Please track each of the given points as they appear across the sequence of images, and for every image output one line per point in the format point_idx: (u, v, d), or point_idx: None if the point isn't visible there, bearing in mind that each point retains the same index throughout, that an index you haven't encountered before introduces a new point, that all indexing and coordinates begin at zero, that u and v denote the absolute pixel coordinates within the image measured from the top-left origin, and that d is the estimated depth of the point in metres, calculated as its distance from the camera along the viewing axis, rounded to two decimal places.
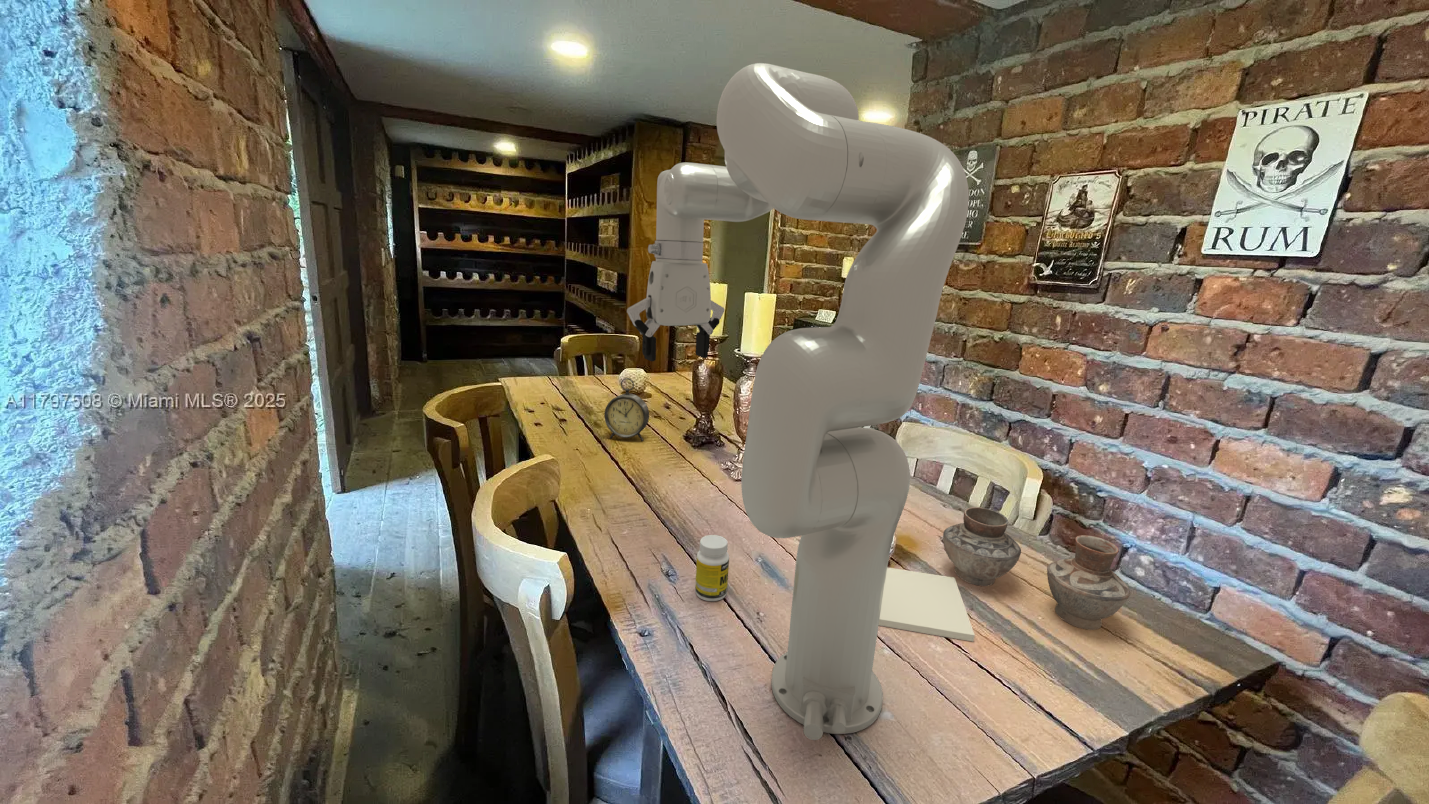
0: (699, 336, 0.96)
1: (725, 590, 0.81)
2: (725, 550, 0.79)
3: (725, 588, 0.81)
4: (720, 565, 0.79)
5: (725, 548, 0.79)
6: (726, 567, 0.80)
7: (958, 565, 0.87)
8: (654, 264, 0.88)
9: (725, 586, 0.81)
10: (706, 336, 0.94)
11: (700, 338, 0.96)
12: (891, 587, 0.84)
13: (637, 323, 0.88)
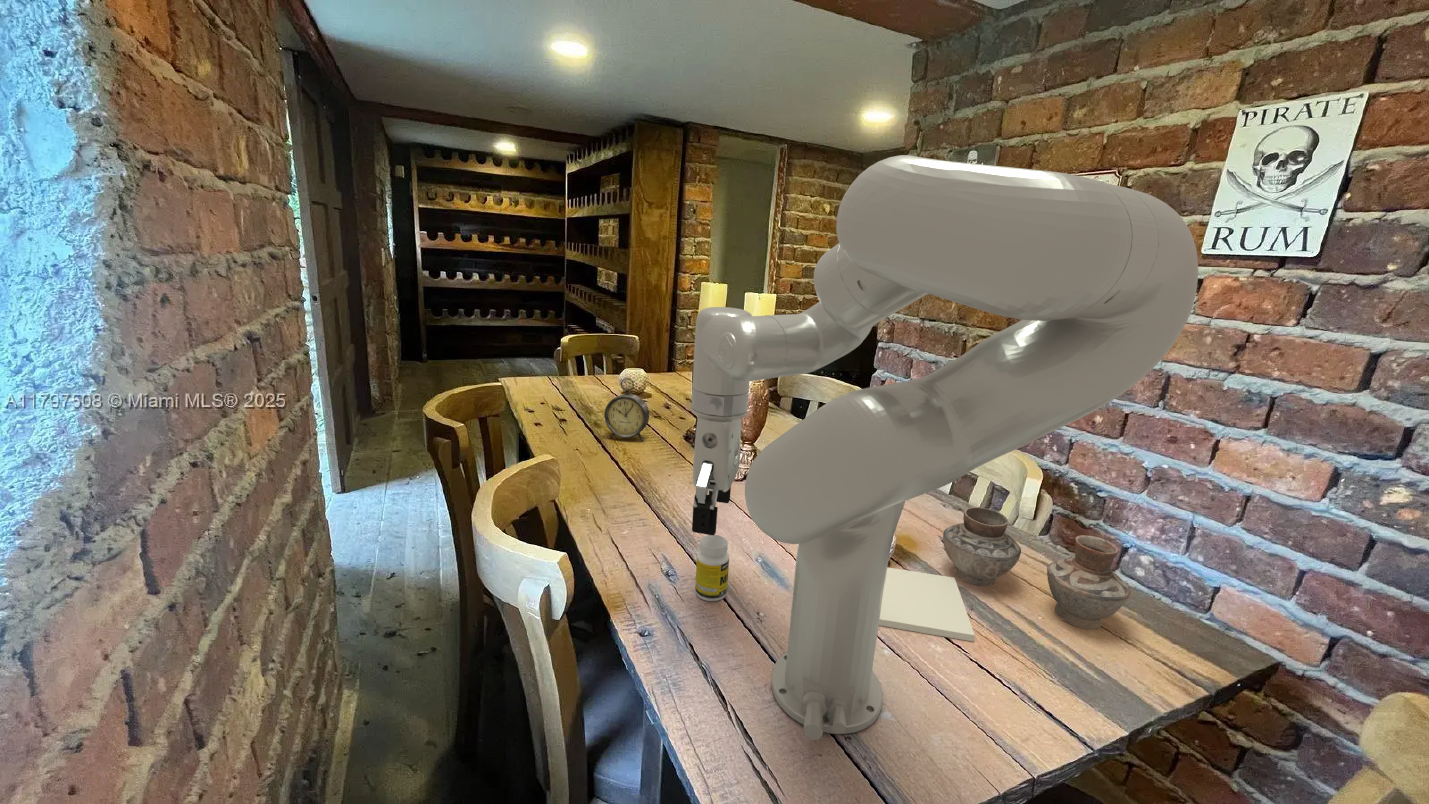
0: None
1: (725, 590, 0.81)
2: (725, 550, 0.79)
3: (725, 588, 0.81)
4: (720, 565, 0.79)
5: (725, 548, 0.79)
6: (726, 567, 0.80)
7: (958, 565, 0.87)
8: (714, 425, 0.71)
9: (725, 586, 0.81)
10: None
11: None
12: (891, 587, 0.84)
13: (708, 500, 0.71)
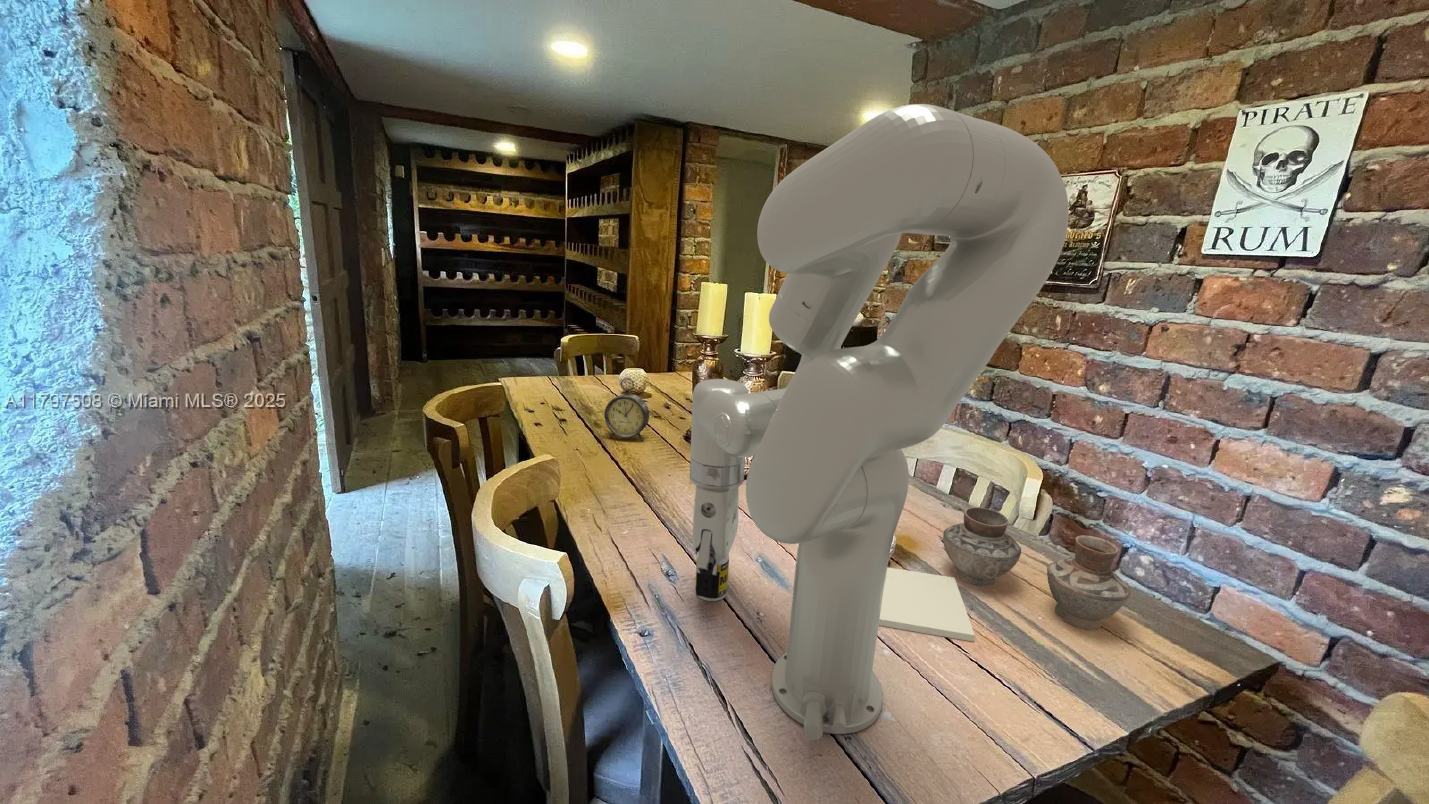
0: None
1: (725, 590, 0.81)
2: None
3: (725, 588, 0.81)
4: (720, 565, 0.79)
5: None
6: (726, 567, 0.80)
7: (958, 565, 0.87)
8: (712, 495, 0.73)
9: (725, 586, 0.81)
10: None
11: None
12: (891, 587, 0.84)
13: (711, 568, 0.75)
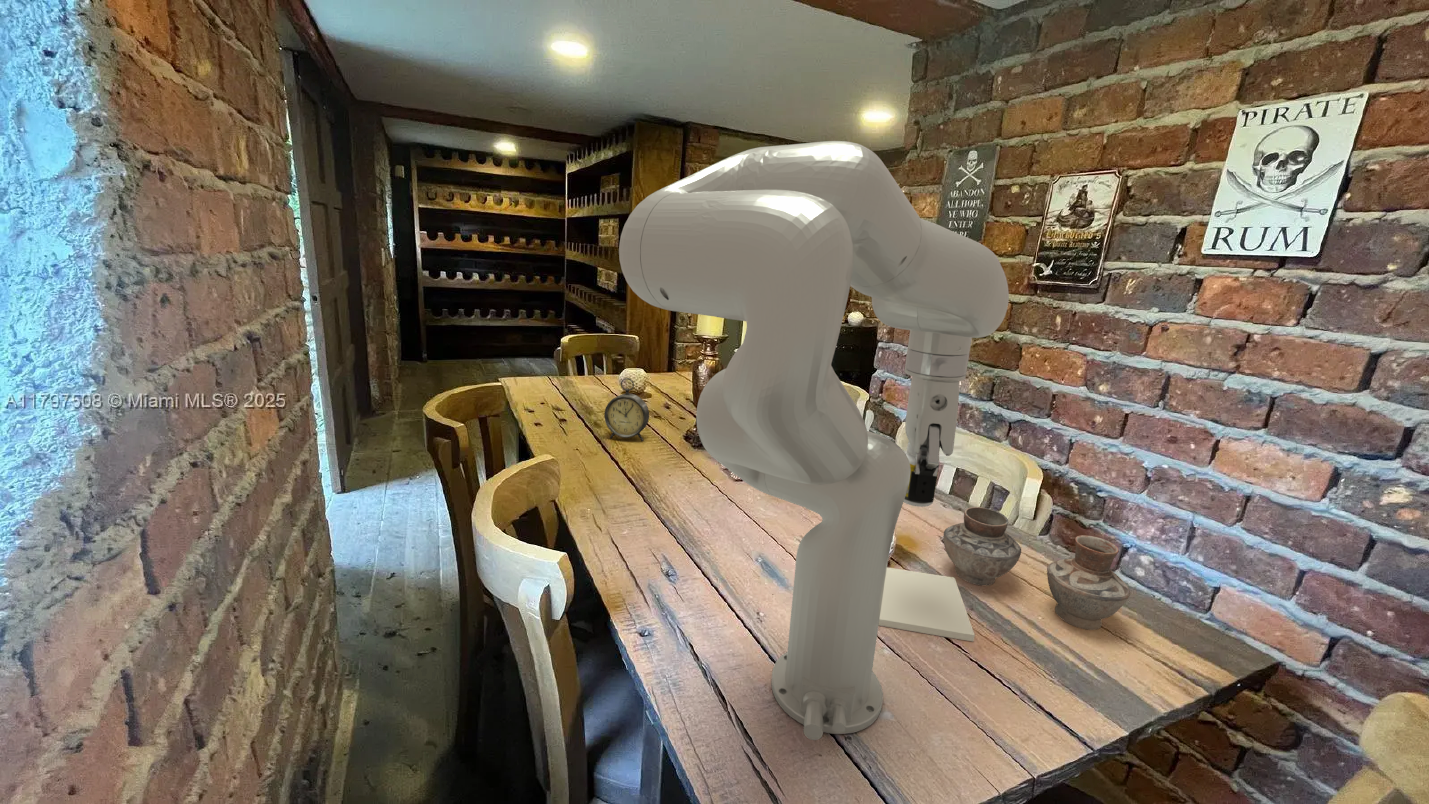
0: None
1: None
2: None
3: (934, 493, 0.77)
4: None
5: None
6: None
7: (958, 565, 0.87)
8: (944, 386, 0.69)
9: None
10: None
11: None
12: (891, 587, 0.84)
13: (937, 465, 0.71)
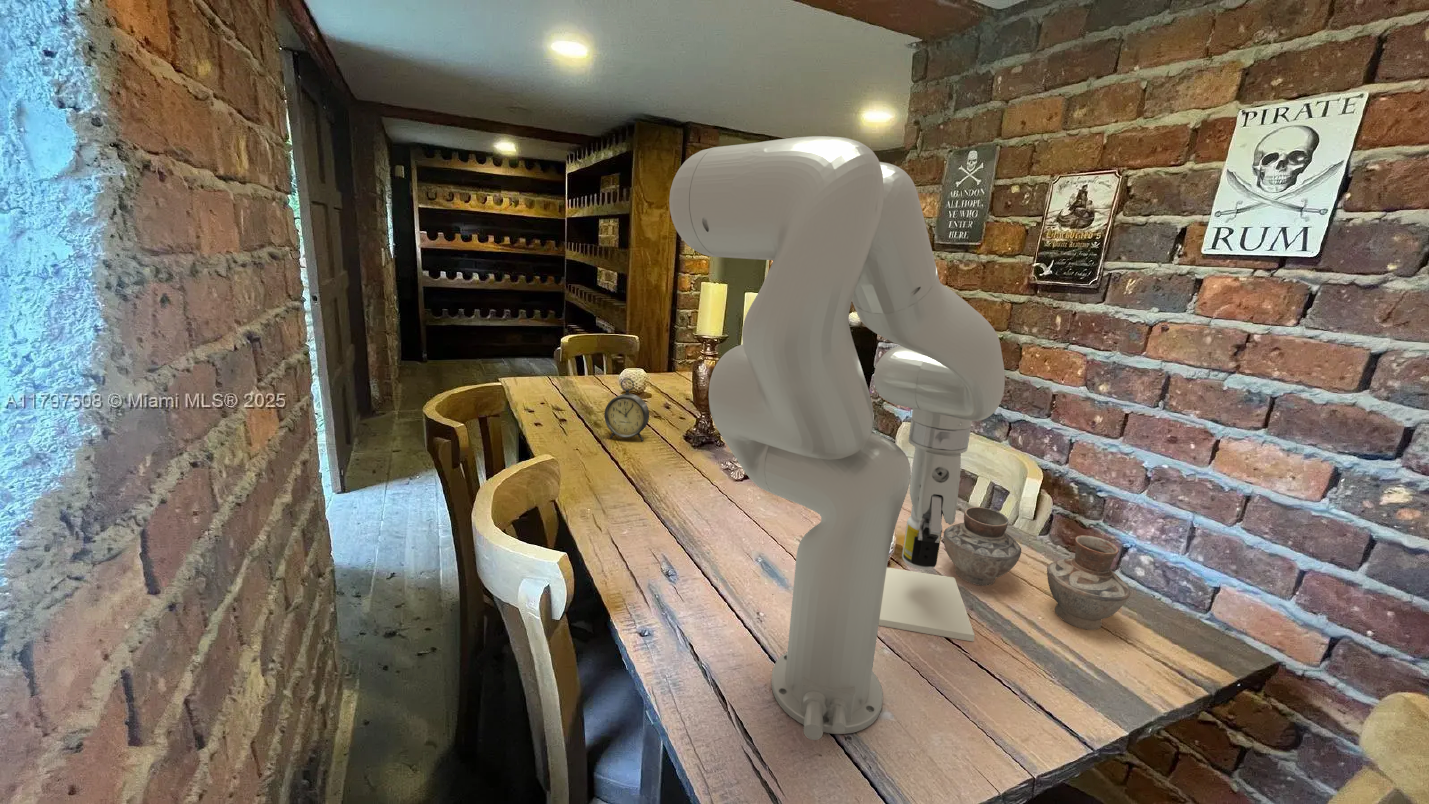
0: None
1: None
2: None
3: (937, 556, 0.79)
4: None
5: None
6: None
7: (958, 564, 0.87)
8: (946, 459, 0.72)
9: None
10: None
11: None
12: (891, 587, 0.84)
13: (939, 534, 0.73)
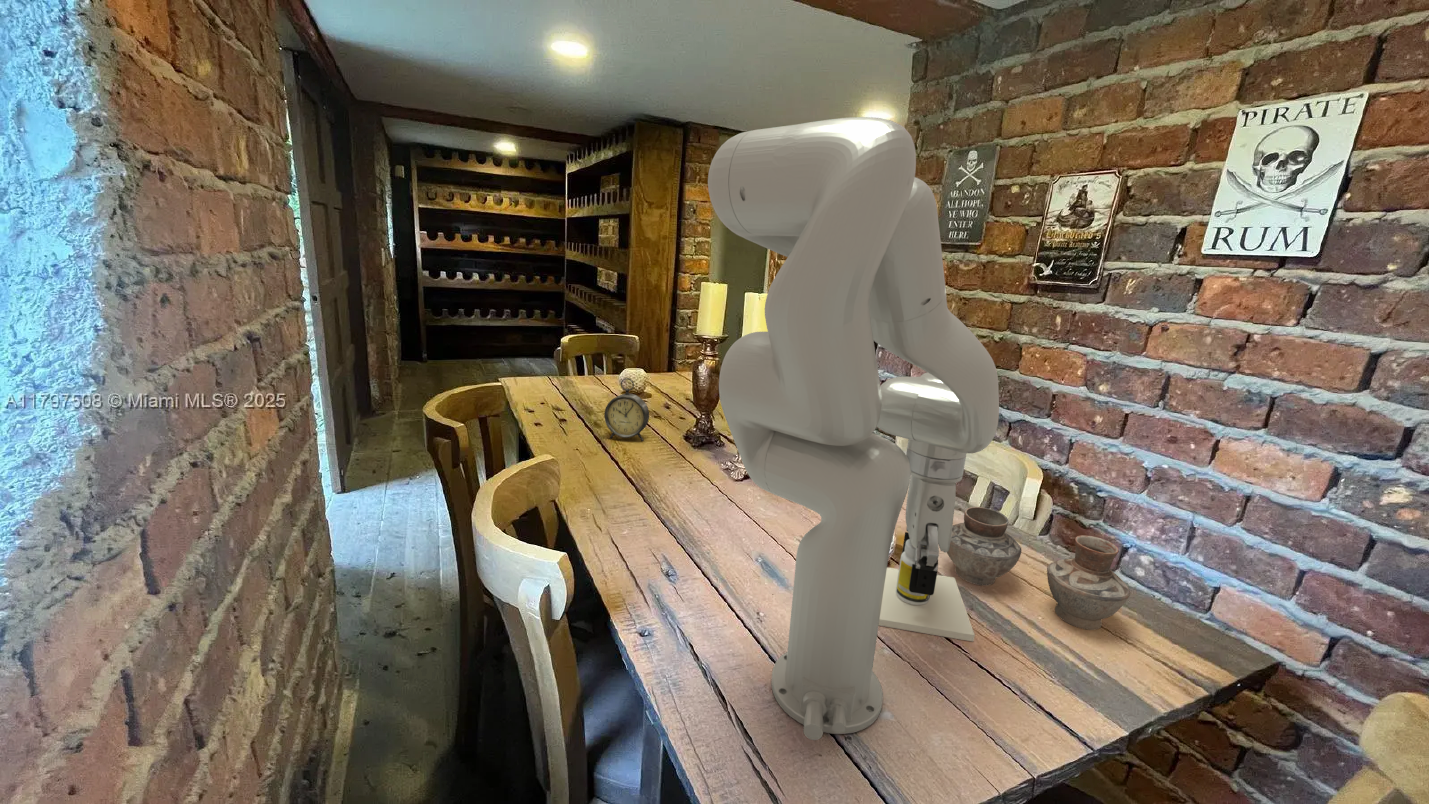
0: None
1: None
2: None
3: None
4: None
5: None
6: None
7: (958, 564, 0.87)
8: (941, 488, 0.73)
9: None
10: None
11: None
12: (891, 587, 0.84)
13: (937, 563, 0.72)
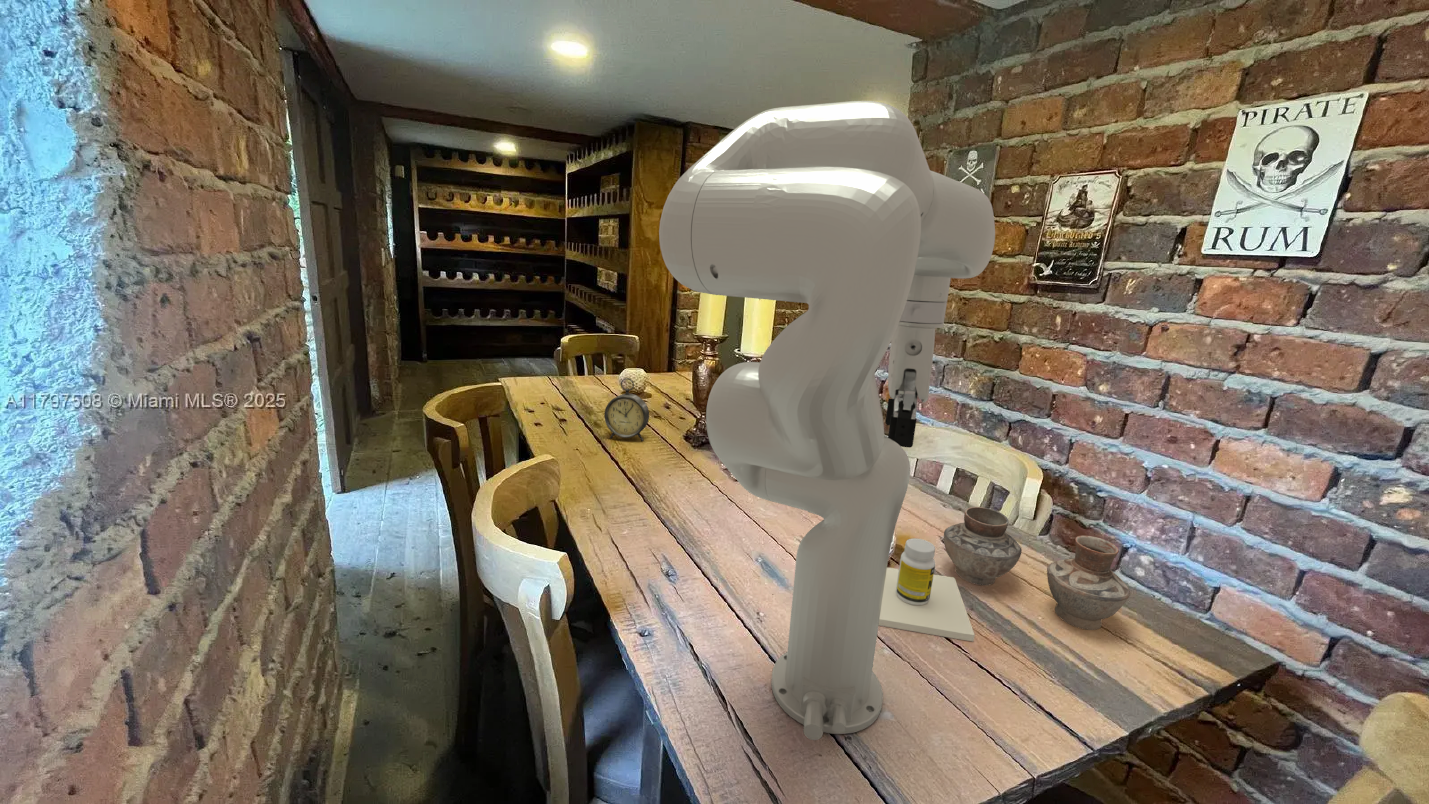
0: None
1: None
2: (934, 554, 0.79)
3: (930, 592, 0.80)
4: (930, 569, 0.78)
5: (934, 552, 0.79)
6: (933, 570, 0.79)
7: (958, 564, 0.87)
8: (919, 331, 0.71)
9: (930, 590, 0.80)
10: None
11: None
12: (891, 587, 0.84)
13: (914, 406, 0.70)
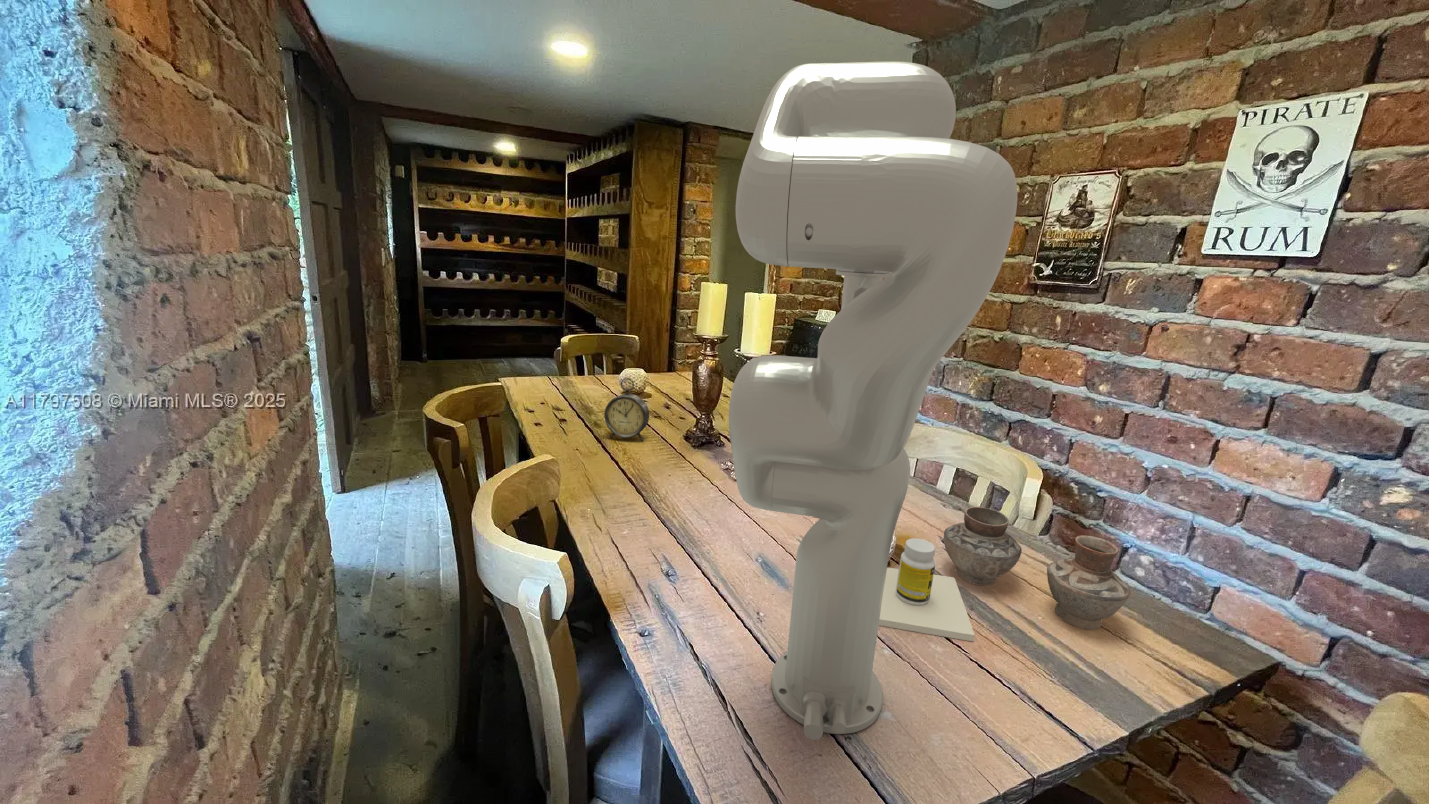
0: None
1: None
2: (934, 554, 0.79)
3: (930, 592, 0.80)
4: (930, 569, 0.78)
5: (934, 552, 0.79)
6: (933, 570, 0.79)
7: (958, 564, 0.87)
8: (867, 280, 0.75)
9: (930, 590, 0.80)
10: None
11: None
12: (891, 587, 0.84)
13: None
